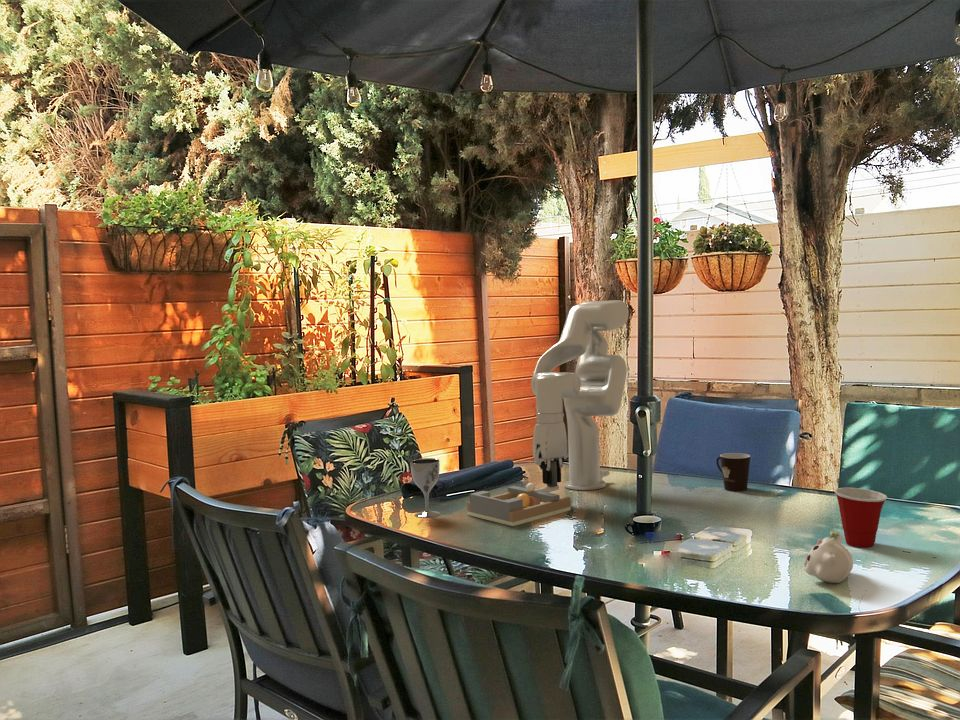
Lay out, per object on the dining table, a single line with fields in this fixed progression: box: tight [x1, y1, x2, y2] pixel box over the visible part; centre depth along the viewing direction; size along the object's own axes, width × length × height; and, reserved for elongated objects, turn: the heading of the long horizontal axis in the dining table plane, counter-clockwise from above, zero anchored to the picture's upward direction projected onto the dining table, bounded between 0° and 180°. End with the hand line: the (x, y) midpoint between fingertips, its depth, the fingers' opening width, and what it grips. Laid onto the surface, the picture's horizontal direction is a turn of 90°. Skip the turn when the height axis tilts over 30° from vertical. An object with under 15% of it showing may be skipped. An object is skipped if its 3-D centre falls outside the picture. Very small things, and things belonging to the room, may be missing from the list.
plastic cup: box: [834, 487, 888, 549], centre depth 186 cm, size 11×11×12 cm
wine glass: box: [410, 457, 441, 519], centre depth 228 cm, size 8×8×15 cm
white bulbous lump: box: [804, 530, 854, 584], centre depth 164 cm, size 10×8×15 cm
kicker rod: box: [507, 459, 561, 506], centre depth 233 cm, size 12×18×11 cm, turn 41°
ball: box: [517, 493, 530, 508], centre depth 228 cm, size 4×4×4 cm
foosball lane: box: [466, 490, 572, 527], centre depth 227 cm, size 22×18×6 cm
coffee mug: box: [716, 452, 751, 493], centre depth 246 cm, size 12×9×10 cm
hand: (552, 482), depth 235 cm, fingers closed on kicker rod, 3 cm apart
